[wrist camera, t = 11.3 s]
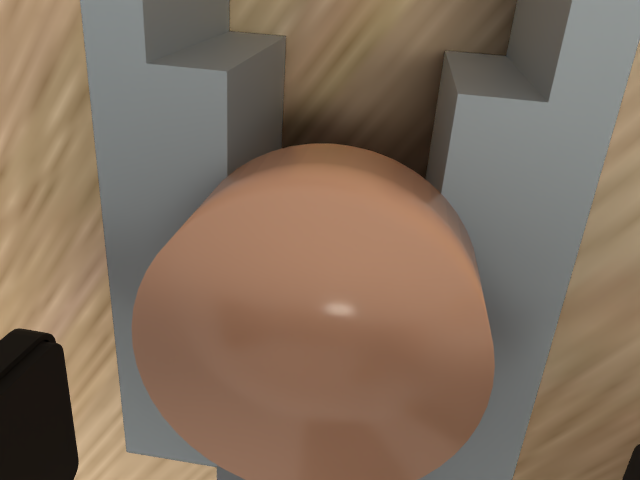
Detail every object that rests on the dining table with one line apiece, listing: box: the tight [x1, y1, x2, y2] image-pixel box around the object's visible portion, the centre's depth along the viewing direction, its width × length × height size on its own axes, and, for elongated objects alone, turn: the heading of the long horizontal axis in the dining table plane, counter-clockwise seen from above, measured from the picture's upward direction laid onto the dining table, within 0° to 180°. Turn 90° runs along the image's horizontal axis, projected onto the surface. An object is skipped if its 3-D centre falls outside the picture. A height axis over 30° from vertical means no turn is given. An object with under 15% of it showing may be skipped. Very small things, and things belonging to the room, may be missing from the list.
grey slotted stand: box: [80, 0, 640, 480], centre depth 15 cm, size 16×11×7 cm, turn 176°
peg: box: [132, 144, 495, 480], centre depth 15 cm, size 7×7×8 cm
